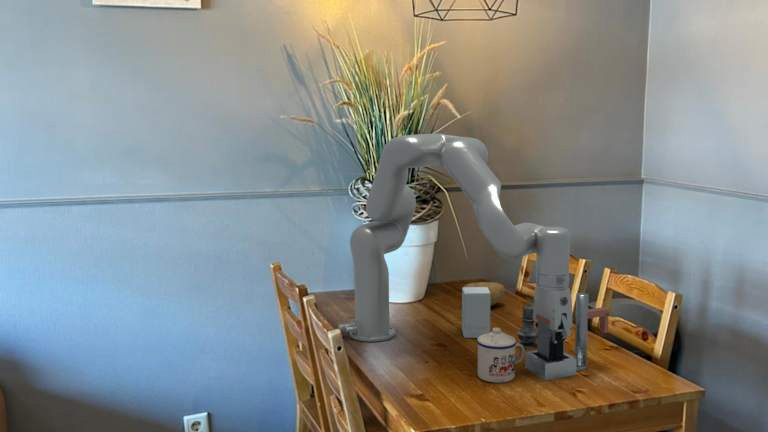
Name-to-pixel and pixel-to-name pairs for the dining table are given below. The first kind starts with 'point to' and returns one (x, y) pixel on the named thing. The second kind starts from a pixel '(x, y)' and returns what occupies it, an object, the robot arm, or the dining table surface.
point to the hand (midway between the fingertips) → (550, 354)
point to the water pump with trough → (570, 363)
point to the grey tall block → (545, 339)
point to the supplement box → (475, 311)
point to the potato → (491, 290)
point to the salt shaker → (527, 329)
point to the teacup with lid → (497, 356)
